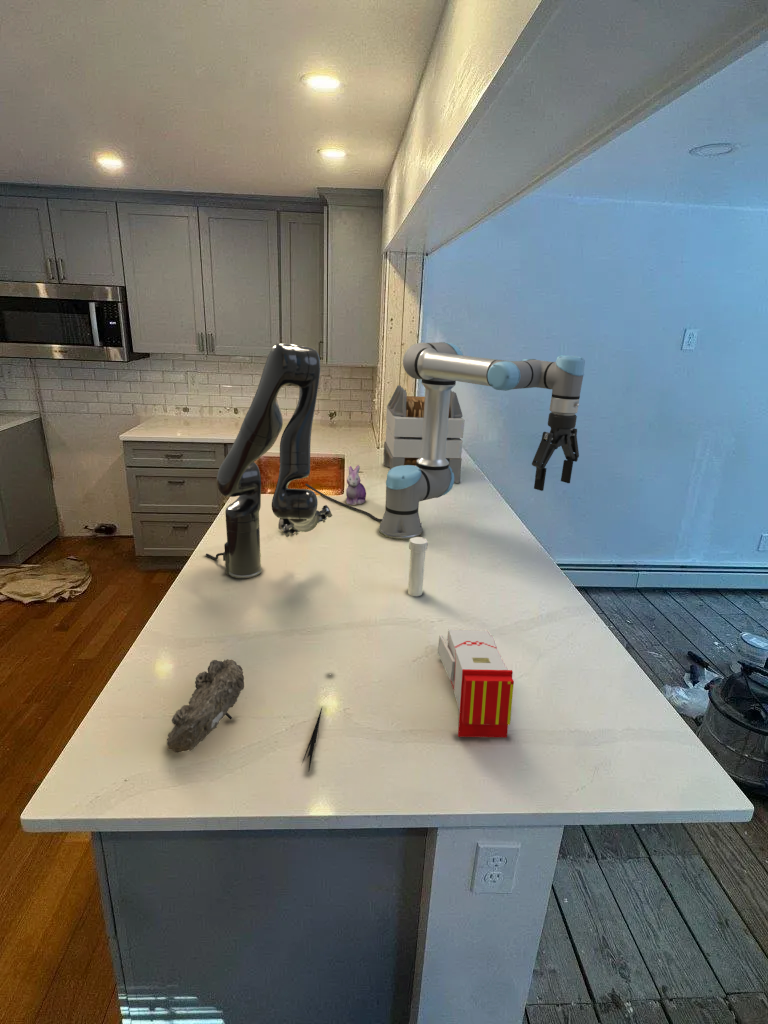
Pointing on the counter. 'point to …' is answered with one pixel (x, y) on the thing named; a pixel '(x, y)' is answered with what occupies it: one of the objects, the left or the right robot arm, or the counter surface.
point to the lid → (418, 544)
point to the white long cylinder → (416, 573)
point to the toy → (478, 682)
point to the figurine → (355, 488)
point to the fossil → (206, 705)
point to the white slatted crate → (419, 431)
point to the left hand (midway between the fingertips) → (309, 525)
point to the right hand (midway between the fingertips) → (552, 485)
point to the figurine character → (283, 522)
